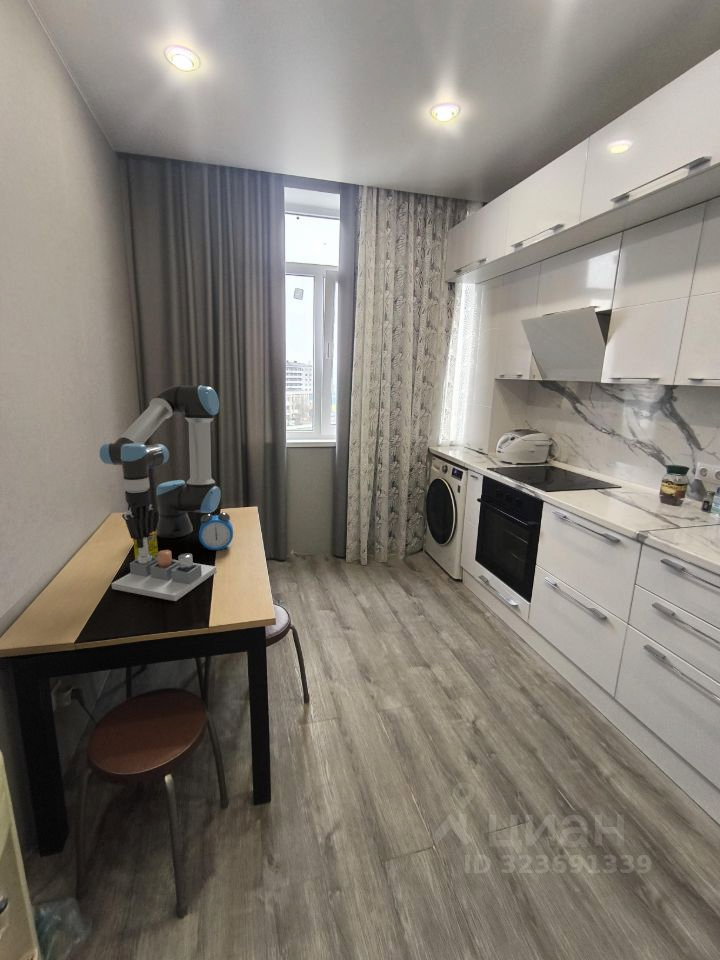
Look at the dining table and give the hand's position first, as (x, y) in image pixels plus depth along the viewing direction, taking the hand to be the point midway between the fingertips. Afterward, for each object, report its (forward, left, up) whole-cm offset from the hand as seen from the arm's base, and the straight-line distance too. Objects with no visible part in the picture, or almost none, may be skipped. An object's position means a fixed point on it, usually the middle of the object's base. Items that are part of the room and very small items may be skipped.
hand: (144, 555), depth 152 cm
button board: (0, +8, -8) cm, 12 cm away
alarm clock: (-30, +8, -8) cm, 32 cm away
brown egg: (0, +8, -3) cm, 9 cm away
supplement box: (-11, -10, -8) cm, 17 cm away
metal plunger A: (0, 0, -5) cm, 5 cm away
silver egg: (0, +17, -3) cm, 17 cm away
